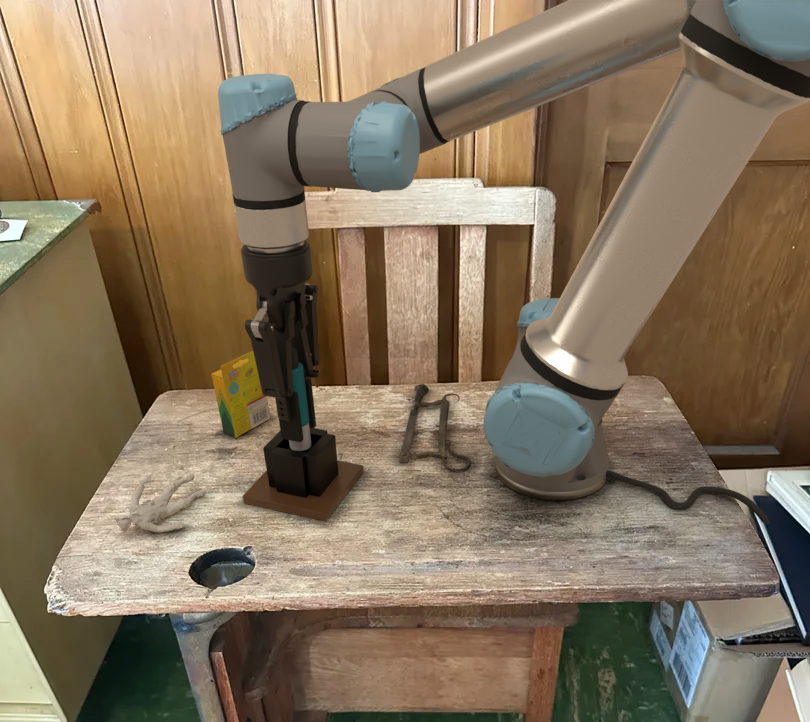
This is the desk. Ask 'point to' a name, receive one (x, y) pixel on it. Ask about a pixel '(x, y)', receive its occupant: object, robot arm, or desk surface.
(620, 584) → the desk surface
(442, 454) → the hacksaw
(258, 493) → the holder
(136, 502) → the soldier figure
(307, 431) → the teal and black cylinder
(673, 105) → the robot arm
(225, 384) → the crayon box
